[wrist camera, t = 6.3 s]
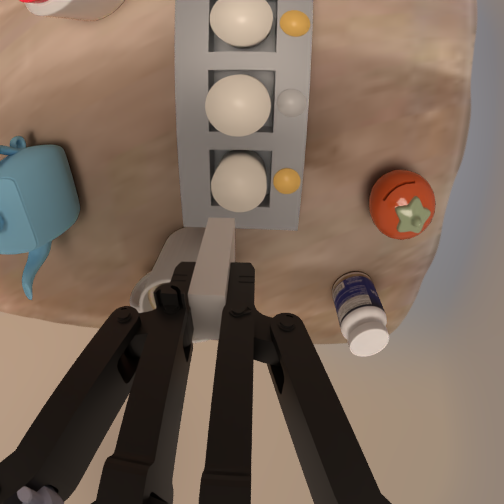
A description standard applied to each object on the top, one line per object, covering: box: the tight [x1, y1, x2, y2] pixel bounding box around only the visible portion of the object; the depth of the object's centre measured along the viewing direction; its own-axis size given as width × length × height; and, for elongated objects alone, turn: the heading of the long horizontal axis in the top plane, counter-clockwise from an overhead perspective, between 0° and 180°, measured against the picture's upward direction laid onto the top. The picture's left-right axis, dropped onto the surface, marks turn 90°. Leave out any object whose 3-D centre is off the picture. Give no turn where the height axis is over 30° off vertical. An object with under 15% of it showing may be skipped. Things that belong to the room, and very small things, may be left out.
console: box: [175, 0, 313, 231], centre depth 25 cm, size 11×24×5 cm, turn 179°
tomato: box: [369, 170, 436, 240], centre depth 29 cm, size 7×7×8 cm
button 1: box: [211, 150, 267, 212], centre depth 27 cm, size 5×5×4 cm
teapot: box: [0, 136, 80, 300], centre depth 29 cm, size 12×18×12 cm
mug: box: [130, 227, 210, 343], centre depth 34 cm, size 11×10×10 cm
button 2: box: [210, 0, 273, 49], centre depth 19 cm, size 5×5×4 cm
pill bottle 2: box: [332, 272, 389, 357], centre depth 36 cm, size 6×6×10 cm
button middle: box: [205, 74, 271, 137], centre depth 22 cm, size 5×5×4 cm
